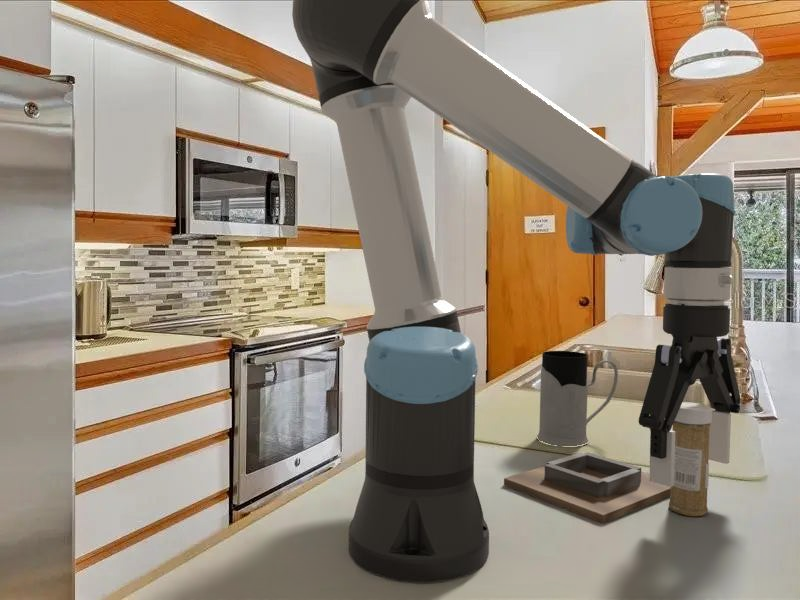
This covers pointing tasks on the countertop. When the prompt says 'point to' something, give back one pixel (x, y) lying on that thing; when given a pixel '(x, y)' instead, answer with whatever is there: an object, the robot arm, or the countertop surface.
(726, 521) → the countertop surface
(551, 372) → the grey mug
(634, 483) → the socket board
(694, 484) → the sprinkles bottle
